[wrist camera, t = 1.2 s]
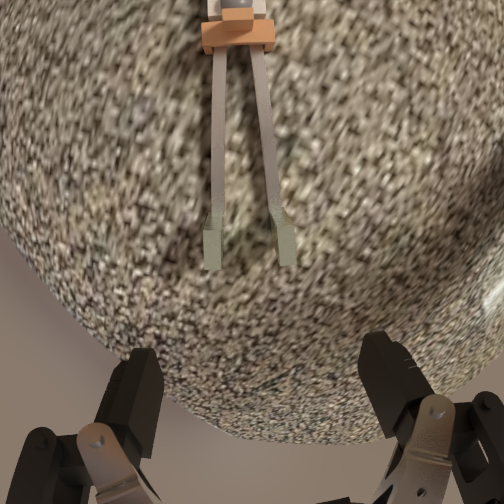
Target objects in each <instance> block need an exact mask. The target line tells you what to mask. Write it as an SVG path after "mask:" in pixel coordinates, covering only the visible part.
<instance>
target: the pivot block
mask: <svg viewBox="0 0 504 504" xmlns="http://www.w3.org/2000/svg"><path fill="white" fill-rule="evenodd" d="M250 7H253V10H254V20H257V19H265V16H266V5H265V0H208V19H209V22H215V21H223V18H222V9H226V8H250Z"/></svg>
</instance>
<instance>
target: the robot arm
mask: <svg viewBox="0 0 504 504" xmlns="http://www.w3.org/2000/svg"><path fill="white" fill-rule="evenodd" d="M358 373H359V376H360V379H361V381H362V383H363V386H364V388H365V390H366V393H367V395H368V397H369V399H370V402H371V404H372V406H373V409H374V411H375V414H376V416H377V418H378V421H379V423H380V426H381V428H382V430H383V433H384V435H385V438H386V439H387V438H391V437H394V436H396V438H397V440H398V442H397V443H396V446H395V449H394V451H393V454H392V457H391V459H390V462H389V464H388V467H387V469H386V471H385V474H384V476H383V478H382V481H381V483H380V485H379V486H378V488H377V490H376V491H375V493H374V494H373V496H372V498H371V500H370V502H369V504H442V502H443V498H444V495H445V492H446V488H447V484H448V481H449V477H450V473H451V470H452V472H453V475H454V477H455V480H456V483H457V485H458V488H459V491H460V494H461V497H462V500H463V502H464V504H504V405H503V403H502V402H501V400H500V399H499V397H498V396H497V395H495V394H494V393H492V392H488V391H483V392H480V393H478V394H477V395H476V396H475V398H474V399H473V401H472V402H464V403H453V402H452V401H451V400H450V399H449V398H447V397H446V396H443V395H440V394H435V393H434V391H433V389H432V388H431V386H430V384H429V383H428V381H427V380H426V378H425V376H424V375H423V373H422V372H421V370H420V369H419V367H417V364H416V362H415V361H414V359H412V356H411V355H410V353H409V352H408V350H407V349H406V348H405V347H404V346H402V345H401V344H400V343H398V342H397V341H395V342H392V341H391V339H390V338H389V336H388V335H387V333H386V332H385V331H379V332H373V333H367V334H365V335H364V338H363V343H362V347H361V351H360V355H359V359H358ZM106 389H107V390H106V391H105V393H104V396H103V398H102V401H101V404H100V407H99V409H98V412H97V415H96V418H95V420H94V422H93V423H91V424H88V425H86V426H84V427H83V428H82V429H81V430H80V431H79V433H78V434H75V435H64V436H56V435H55V434H54V433H53V431H52V430H50V429H49V428H46V427H38V428H36V429H34V430H32V431H31V432H30V433H29V434H28V436H27V438H26V440H25V443H24V446H23V448H22V451H21V454H20V457H19V460H18V463H17V466H16V469H15V472H14V475H13V478H12V482H11V485H10V489H9V492H8V496H7V500H6V504H88V499H89V493H90V487H91V486H93V485H95V487H96V490H97V492H98V494H96V496H95V497H96V500H97V503H98V504H165V503H164V501H163V500H162V499H161V497H160V496H159V494H158V493H157V492H156V490H155V489H154V487H153V486H152V484H151V483H150V481H149V480H148V478H147V477H146V475H145V474H144V472H143V471H142V469H141V468H140V461H141V458H150V459H151V454H152V448H153V443H154V438H155V432H156V427H157V421H158V417H159V412H160V406H161V402H162V397H163V392H164V377H163V374H162V371H161V368H160V365H159V362H158V359H157V356H156V353H155V351H154V349H153V348H134V349H133V350H132V353H131V355H130V358H129V361H121V362H120V364H119V365H118V366H117V367H116V368H115V369H114V370H113V373H112V375H111V378H110V382H109V383H108V385H107V388H106ZM479 440H480V442H481V444H482V447H483V449H484V451H485V453H486V455H487V457H488V461H489V464H488V462H487V460H486V458H485V456H484V454H483V451H482V449H481V447H480V445H479V443H478V441H479ZM317 504H363V503H351V502H350V499H349V497H346V498H341V499H337V500H332V501H328V502H322V503H317Z"/></svg>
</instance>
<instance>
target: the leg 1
mask: <svg viewBox="0 0 504 504" xmlns="http://www.w3.org/2000/svg"><path fill="white" fill-rule="evenodd" d="M227 48H228V46H215V47H214V54H213V80H212V124H211V204H212V211H209V213H208V216H207V219H206V222H205V226H204V229H203V245H204V268H205V270H221V267H222V257H223V247H224V212H225V115H226V77H227Z"/></svg>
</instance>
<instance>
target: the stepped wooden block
mask: <svg viewBox="0 0 504 504" xmlns="http://www.w3.org/2000/svg"><path fill="white" fill-rule="evenodd" d="M222 18H223V21H215V22H204V23H201V27H202V47H203V49H204V52H205V54H206V55H209V54H213V47H215V46H229V45H252V44H263V49H264V52H271V50H272V48H273V46H274V44H275V31H274V20H268V19H257V20H254V10H253V7H250V8H226V9H222Z"/></svg>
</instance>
